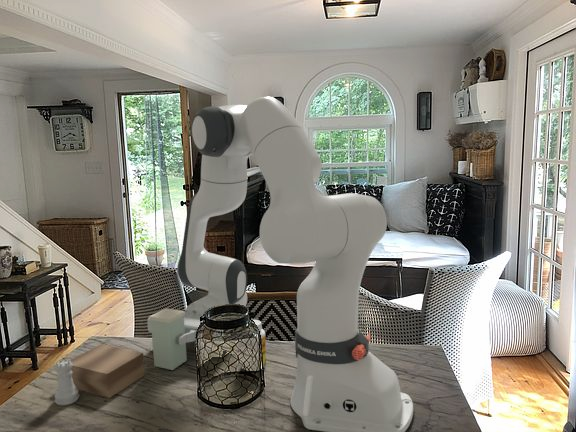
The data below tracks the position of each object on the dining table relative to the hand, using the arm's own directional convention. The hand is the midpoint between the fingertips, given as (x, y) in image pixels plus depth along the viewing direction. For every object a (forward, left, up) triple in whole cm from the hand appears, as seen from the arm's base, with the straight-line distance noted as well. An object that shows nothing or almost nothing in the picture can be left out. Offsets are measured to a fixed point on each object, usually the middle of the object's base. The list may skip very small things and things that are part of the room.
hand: (166, 339), depth 104 cm
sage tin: (0, -1, -6) cm, 6 cm away
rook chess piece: (+9, +19, -7) cm, 22 cm away
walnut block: (+8, +10, -6) cm, 14 cm away
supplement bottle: (-18, -7, -7) cm, 20 cm away
